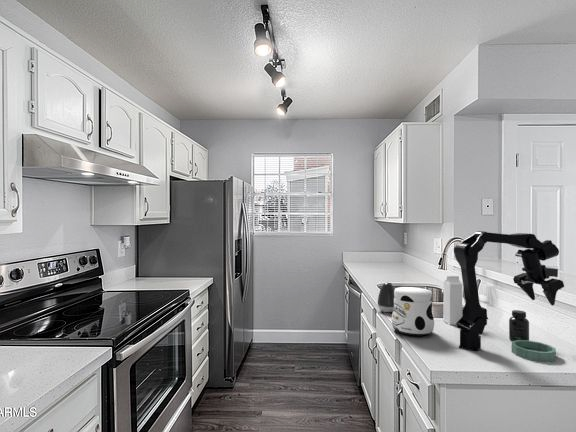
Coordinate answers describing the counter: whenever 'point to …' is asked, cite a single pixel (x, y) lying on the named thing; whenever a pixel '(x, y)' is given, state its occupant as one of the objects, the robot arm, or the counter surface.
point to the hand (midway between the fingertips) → (543, 302)
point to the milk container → (413, 311)
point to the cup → (534, 350)
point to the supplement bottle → (518, 326)
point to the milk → (452, 300)
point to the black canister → (386, 298)
